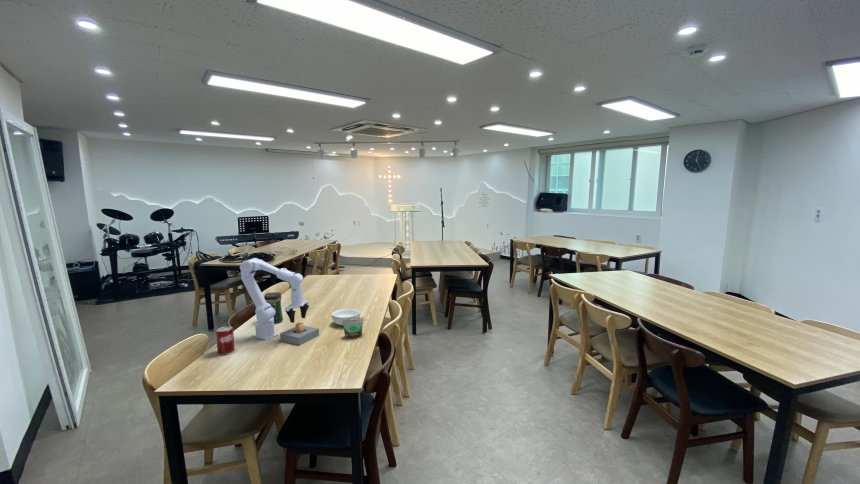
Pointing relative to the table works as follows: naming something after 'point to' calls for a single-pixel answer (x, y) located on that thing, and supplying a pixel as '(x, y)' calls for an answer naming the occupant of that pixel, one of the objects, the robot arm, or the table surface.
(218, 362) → the table surface
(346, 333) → the food container
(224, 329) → the soda can
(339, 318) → the cereal bowl
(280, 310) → the coffee jar
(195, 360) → the table surface
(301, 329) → the peg
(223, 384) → the table surface
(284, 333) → the socket
